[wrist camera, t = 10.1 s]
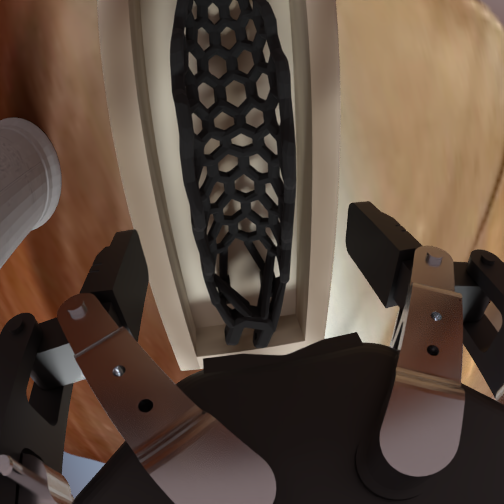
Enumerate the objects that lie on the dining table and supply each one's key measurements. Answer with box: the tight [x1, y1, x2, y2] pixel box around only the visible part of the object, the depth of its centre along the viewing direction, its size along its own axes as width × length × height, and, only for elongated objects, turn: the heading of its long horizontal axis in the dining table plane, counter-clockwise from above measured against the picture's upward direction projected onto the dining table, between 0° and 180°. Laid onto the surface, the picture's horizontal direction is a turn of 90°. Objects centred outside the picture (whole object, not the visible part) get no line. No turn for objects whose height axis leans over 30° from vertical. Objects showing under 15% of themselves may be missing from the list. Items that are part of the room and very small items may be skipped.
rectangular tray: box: [97, 0, 340, 371], centre depth 17 cm, size 11×27×4 cm, turn 4°
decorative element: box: [170, 0, 296, 348], centre depth 15 cm, size 22×5×6 cm, turn 5°
